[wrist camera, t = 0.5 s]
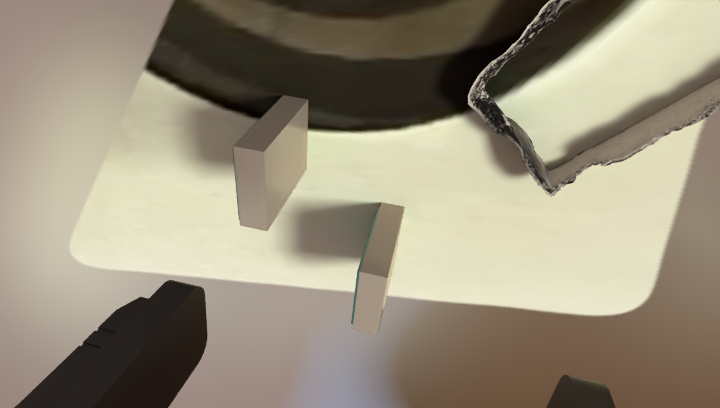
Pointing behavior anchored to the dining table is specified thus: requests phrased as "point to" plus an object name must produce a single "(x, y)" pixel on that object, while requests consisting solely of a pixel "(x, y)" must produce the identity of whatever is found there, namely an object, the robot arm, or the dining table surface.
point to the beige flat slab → (271, 162)
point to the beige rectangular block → (376, 269)
